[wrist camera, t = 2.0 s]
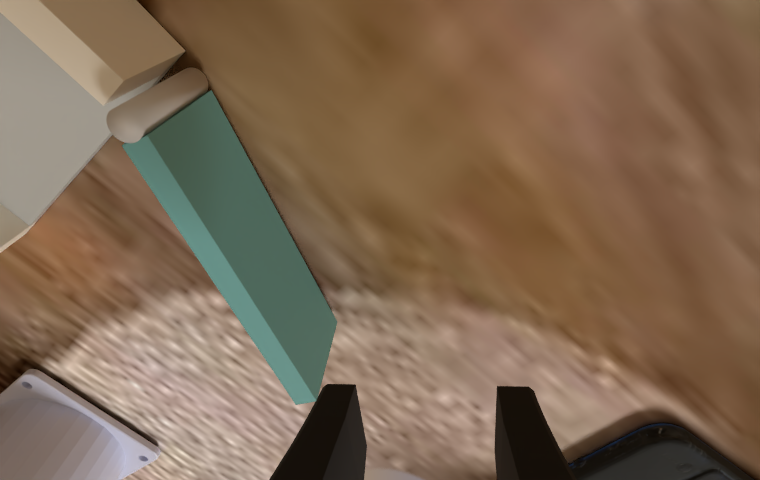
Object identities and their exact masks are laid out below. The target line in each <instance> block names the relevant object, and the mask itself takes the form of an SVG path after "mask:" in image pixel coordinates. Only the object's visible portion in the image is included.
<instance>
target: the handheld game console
mask: <svg viewBox="0 0 760 480" xmlns="http://www.w3.org/2000/svg"><path fill="white" fill-rule="evenodd" d="M569 467H570V469H571V471H572V472H573V474H574V476H575V478H576V479H577V480H754V479H752V478H751V477H750V476H748V475H747V474H746V473H744V472H743V471H742V470H740V469H739V468H738V467H736V466H735V465H734V464H732V463H731V462H730V461H728V460H727V459H725V458H724V457H723V456H721V455H720V454H719V453H717V452H716V451H714V450H713V449H712V448H710V447H709V446H708V445H706V444H705V443H703V442H702V441H701V440H699V439H698V438H696V437H695V436H694V435H692V434H691V433H689V432H688V431H687V430H685V429H683V428H681V427H678V426H675V425H672V424H666V423H659V424H653V425H648V426H645V427H642V428H640V429H638V430H636V431H634V432H632V433H630V434H628V435H626V436H624V437H622V438H620V439H619V440H617V441H616V442H613V443H611V444H609V445H607V446H605V447H603V448H602V449H600V450H598V451H596V452H594V453H592V454H590V455H588V456H586V457H585V458H584V457H583V458H579V459H577V460H576V461H575V462H574V463H572V464H570V465H569Z"/></svg>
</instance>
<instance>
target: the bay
mask: <svg viewBox="0 0 760 480" xmlns="http://www.w3.org/2000/svg"><path fill="white" fill-rule="evenodd" d="M184 52H185V50H184V49H183V48H182V47H181V45H180V44H179V43H178V42H177V41H176V40H175V39H174V38H173V37H172V36H171V35H170V34H169V33H168V32H167V31H166V30H165V29H164V28H163V27H162V26H161V25H160V24H159V23H158V22H157V21H156V20H155V19H154V18H153V17H152V16H151V15H150V14H149V13H148V12H147V11H146V10H145V9H144V8H143V7H142V5H141V4H140V3H139V2H138V1H137V0H0V253H1V252H2V251H3V250H5V249H6V248H7V247H9V246H10V245H11V244H13V243H14V242H15V241H17V240H18V239H20V238H21V237H22V236H24V235H25V234H26V233H27V232H28V231H29V230H30V228H31V227H32V226H33V225H34V224H35V223H36V222H37V220H38V219H39V218H40V217H41V216H42V215H43V214H44V212H45V211H46V210H47V209H48V208H49V207H50V206H51V204H52V203H53V202H54V201H55V200H56V199H57V198H58V196H59V195H60V194H61V193H62V192H63V191H64V190H65V188H66V187H67V186H68V185H69V184H70V183H71V182H72V180H73V179H74V178H75V177H76V176H77V175H78V173H79V172H80V171H81V170H82V169H83V168H84V167H85V165H86V164H87V163H88V162H89V161H90V160H91V159H92V157H93V156H94V155H95V154H96V153H97V152H98V151H99V149H100V148H101V147H102V146H103V145H104V144H105V143H106V141H107V140H108V139H109V138H110V137H111V136H112V135H113V134H112V133H111V132H110V130H109V128H108V126H107V122H106V117H107V114H108V112H109V111H110V110H111V109H113V108H115V107H117V106H119V105H120V104H122V103H124V102H126V101H128V100H130V99H131V98H133V97H135V96H137V95H139V94H140V93H142V92H144V91H146V90H148V89H149V88H151V87H153V86H155V85H156V84H157V83H158V82H159V81H160V80H161V79H162V77H163V76H164V75H165V74H166V73H167V72H168V71H169V69H170V68H171V67H172V66H173V65H174V64H175V63H176V61H177V60H178V59H179V58H180V57H181V56H182V54H183V53H184Z"/></svg>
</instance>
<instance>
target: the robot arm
mask: <svg viewBox="0 0 760 480" xmlns="http://www.w3.org/2000/svg"><path fill="white" fill-rule="evenodd" d="M366 449H367V444H366V439H365V433H364V428H363V423H362V417H361V412H360V406H359V401H358V396H357V390H356V385H352V384H327V385H326V386H324V387H323V388H322V390H321V392H320V394H319V396H318V398H317V400H316V402H315V404H314V406H313V408H312V410H311V411H310V413H309V415H308V417H307V419H306V420H305V422H304V424H303V426H302V427H301V429H300V431H299V433H298V434H297V436H296V438H295V439H294V441H293V443H292V444H291V446H290V448H289V449H288V451H287V453H286V454H285V456H284V457H283V459H282V460H281V462H280V464H279V465H278V467H277V468H276V470H275V472H274V473H273V475H272V476H271V478H270V480H364V472H365V461H366ZM159 455H160V449H159V448H158V447H157V446H155V445H154V444H152V443H151V442H149V441H148V440H146V439H145V438H143V437H142V436H140V435H138V434H137V433H135V432H134V431H132V430H131V429H129V428H128V427H126V426H125V425H123V424H121V423H120V422H118V421H117V420H115V419H114V418H112V417H111V416H109V415H108V414H106V413H104V412H103V411H101V410H100V409H98V408H97V407H95V406H94V405H92V404H91V403H89V402H87V401H86V400H84V399H83V398H81V397H80V396H78V395H77V394H75V393H74V392H72V391H70V390H69V389H67V388H66V387H64V386H63V385H61V384H60V383H58V382H57V381H55V380H53V379H52V378H50V377H49V376H47V375H46V374H44V373H43V372H41V371H39V370H36V369H29V370H27V371H26V372H25V373H23V374H22V375H21V376H20V377H19V378H18V379H17V380H15V381H14V382H13V383H12V384H11V385H10V386H9V387H8V388H6V389H5V390H4V391H3V392H2V393H1V394H0V480H121V479H123V478H125V477H127V476H128V475H130V474H132V473H134V472H135V471H137V470H139V469H141V468H142V467H144V466H146V465H148V464H149V463H151V462H153V461H155V460H156V459H157V458H158V457H159ZM495 460H496V473H497V480H577V479H576V478H575V476H574V474H573V472H572V471H571V469H570V467H569V465H568V463H567V461H566V459H565V458H564V456H563V454H562V452H561V450H560V448H559V446H558V444H557V442H556V440H555V438H554V436H553V434H552V432H551V430H550V428H549V426H548V424H547V422H546V419H545V417H544V415H543V413H542V410H541V408H540V406H539V403H538V401H537V398H536V396H535V393H534V391H533V390H532V389H531V388H530V387H511V386H497V401H496V427H495Z"/></svg>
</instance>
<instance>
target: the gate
mask: <svg viewBox="0 0 760 480" xmlns="http://www.w3.org/2000/svg"><path fill="white" fill-rule="evenodd" d="M207 90H208V80H207V78H206V76H205V75H204V74H203V72H201V71H200V70H199V69H196V68H193V67H189V68H186V69H184V70H182V71H180V72H179V73H177V74H175V75H173V76H171V77H169V78H168V79H166V80H164V81H162V82H160V83H159V84H157V85H155V86H153V87H151V88H149V89H148V90H146V91H144V92H142V93H140V94H139V95H137V96H135V97H133V98H131V99H130V100H128V101H126V102H124V103H122V104H120V105H119V106H117V107H115V108H113V109H111V110H110V111H109V112H108V114H107V117H106V122H107V126H108V128H109V130H110V132H111V133H112V134H113V135H114V136H115V137H116V138H117V139H119V140H120V141H122V142H125V144H123V145H122V147H123V148H124V150H125V151H126V153H127V154H128V156H129V157H130V159H131V160H132V162H133V163H134V165H135V166H136V167H137V169H138V170H139V172H140V173H141V175H142V176H143V178H144V179H145V181H146V182H147V184H148V185H149V187H150V188H151V190H152V191H153V193H154V194H155V196H156V197H157V199H158V200H159V202H160V203H161V205H162V206H163V208H164V209H165V211H166V212H167V214H168V215H169V217H170V218H171V220H172V221H173V223H174V224H175V225H176V227H177V228H178V230H179V231H180V233H181V234H182V236H183V237H184V239H185V240H186V242H187V243H188V245H189V246H190V248H191V249H192V251H193V252H194V254H195V255H196V257H197V258H198V260H199V261H200V263H201V264H202V266H203V267H204V269H205V270H206V272H207V273H208V275H209V276H210V278H211V279H212V281H213V282H214V284H215V285H216V286H217V288H218V289H219V291H220V292H221V294H222V295H223V297H224V298H225V300H226V301H227V303H228V304H229V306H230V307H231V309H232V310H233V312H234V313H235V315H236V316H237V318H238V319H239V321H240V322H241V324H242V325H243V327H244V328H245V330H246V331H247V333H248V334H249V336H250V337H251V339H252V340H253V342H254V343H255V345H256V346H257V347H258V349H259V350H260V352H261V353H262V355H263V356H264V358H265V359H266V361H267V362H268V364H269V365H270V367H271V368H272V370H273V371H274V373H275V374H276V376H277V377H278V379H279V380H280V382H281V383H282V385H283V386H284V388H285V389H286V391H287V392H288V394H289V395H290V397H291V398H292V400H293V401H294V403H295V404H296V405H297V404H303V403H309V402H315V401H316V400H317V398H318V394H319V390H320V386H321V383H322V379H323V375H324V371H325V367H326V363H327V360H328V356H329V352H330V348H331V344H332V340H333V337H334V333H335V329H336V325H337V320H336V319H335V317H334V315H333V313H332V311H331V309H330V308H329V306H328V304H327V302H326V300H325V298H324V296H323V295H322V293H321V291H320V289H319V287H318V285H317V284H316V282H315V280H314V278H313V276H312V274H311V273H310V271H309V269H308V267H307V265H306V263H305V261H304V260H303V258H302V256H301V254H300V252H299V250H298V249H297V247H296V245H295V243H294V241H293V239H292V238H291V236H290V234H289V232H288V230H287V228H286V226H285V225H284V223H283V221H282V219H281V217H280V215H279V214H278V212H277V210H276V208H275V206H274V204H273V203H272V201H271V199H270V197H269V195H268V193H267V191H266V190H265V188H264V186H263V184H262V182H261V180H260V179H259V177H258V175H257V173H256V171H255V169H254V167H253V166H252V164H251V162H250V160H249V158H248V156H247V155H246V153H245V151H244V149H243V147H242V145H241V144H240V142H239V140H238V138H237V136H236V134H235V132H234V131H233V129H232V127H231V125H230V123H229V121H228V120H227V118H226V116H225V114H224V112H223V110H222V109H221V107H220V105H219V103H218V101H217V99H216V97H215V96H214V94H213V92H212V90H211V91H208V92H207Z"/></svg>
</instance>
